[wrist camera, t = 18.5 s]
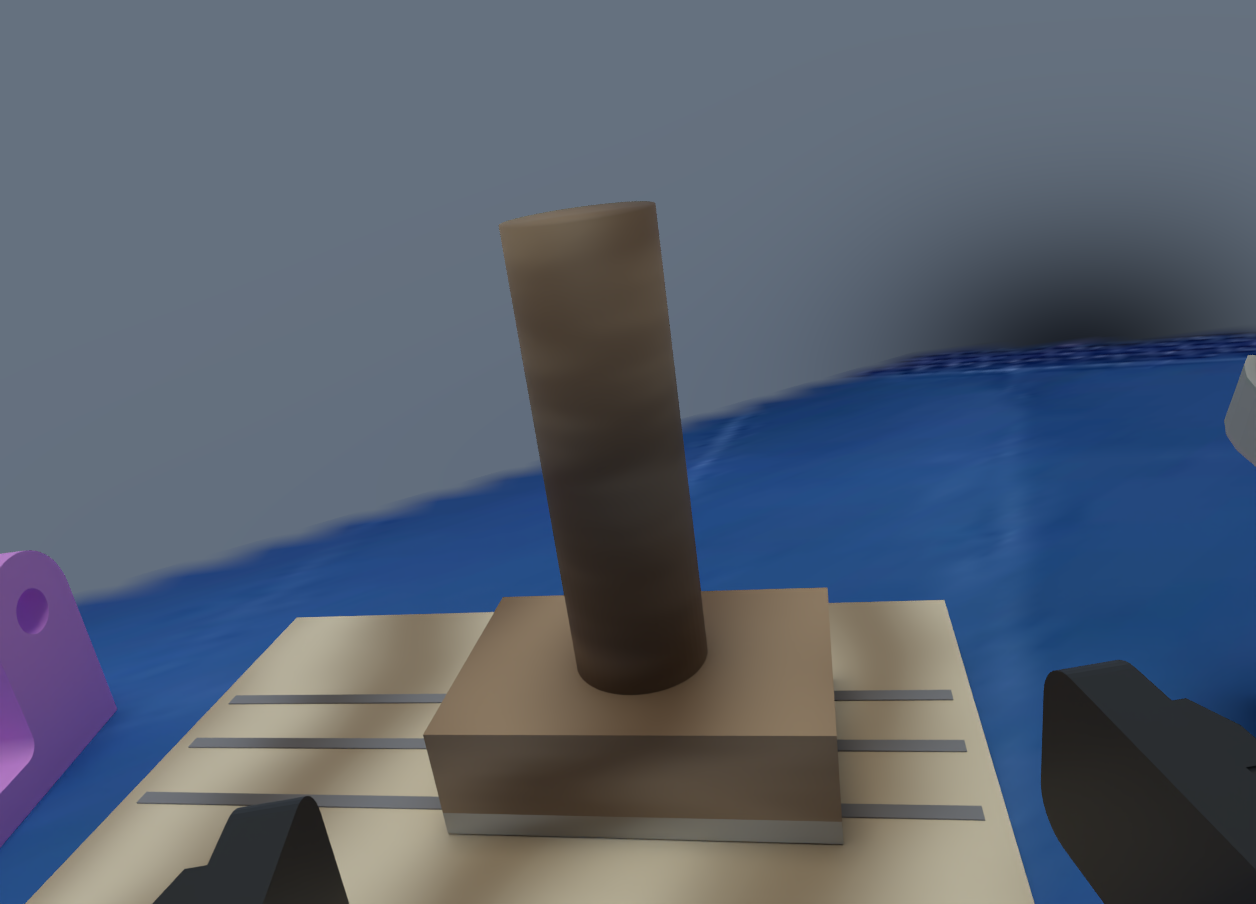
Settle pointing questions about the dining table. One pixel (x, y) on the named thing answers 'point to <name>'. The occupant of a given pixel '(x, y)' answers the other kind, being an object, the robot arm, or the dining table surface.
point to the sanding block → (629, 597)
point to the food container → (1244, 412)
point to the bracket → (42, 683)
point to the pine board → (556, 865)
